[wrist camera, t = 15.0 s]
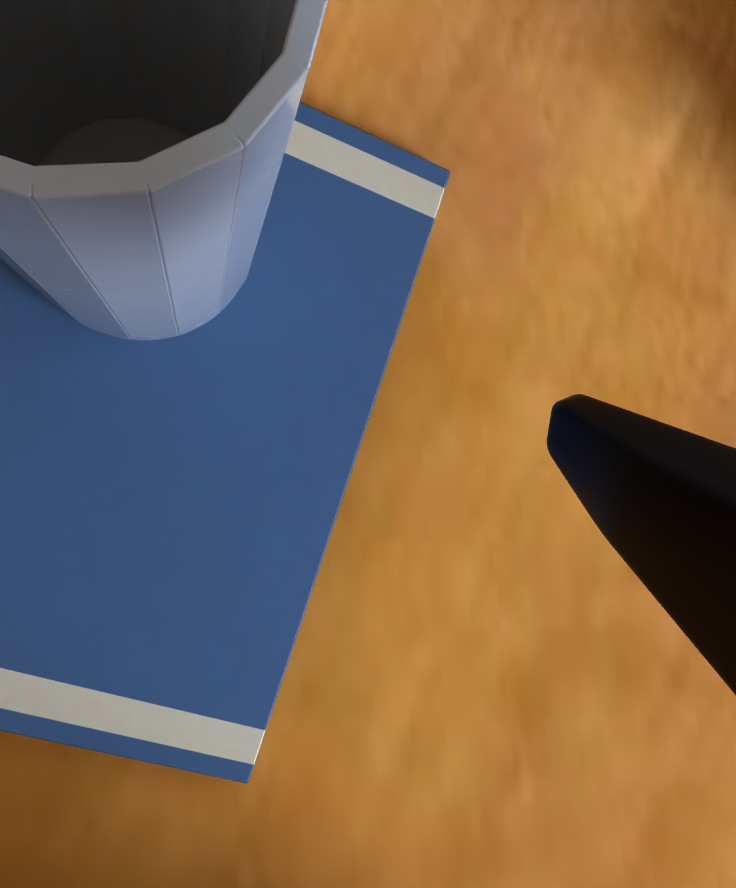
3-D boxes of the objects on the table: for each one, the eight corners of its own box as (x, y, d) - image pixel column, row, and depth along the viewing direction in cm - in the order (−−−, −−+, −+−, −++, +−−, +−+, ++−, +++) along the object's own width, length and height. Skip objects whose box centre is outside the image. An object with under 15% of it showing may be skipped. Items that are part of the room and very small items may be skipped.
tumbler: (238, 110, 21) (293, -354, 9) (267, 329, 22) (362, 182, 9) (0, 116, 20) (-346, -440, 7) (35, 351, 20) (-238, 211, 8)
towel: (445, 177, 24) (451, 170, 23) (246, 775, 22) (247, 785, 22) (23, -16, 21) (18, -29, 20) (-239, 669, 19) (-253, 676, 19)
